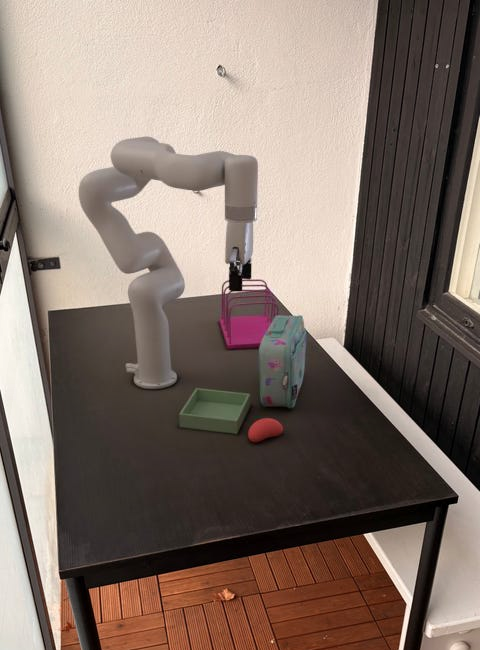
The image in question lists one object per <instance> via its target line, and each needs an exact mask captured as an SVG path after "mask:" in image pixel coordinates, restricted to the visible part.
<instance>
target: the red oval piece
mask: <svg viewBox="0 0 480 650" xmlns="http://www.w3.org/2000/svg"><path fill="white" fill-rule="evenodd" d="M283 431H284V427H283V425H282V424H281V423H280V422H279V421H278V420H276V419H274V418H269V417H265V418H261V419H258V420H256V421H255V422H253V423H252V425H251V426H250V427H249V429H248V434H247V436H248V439H249V441H250V442H252V443H259V442H261V441H263V440H265V439H267V438H273V437H277V436H280V435H281V434H282V433H283Z"/></svg>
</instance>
